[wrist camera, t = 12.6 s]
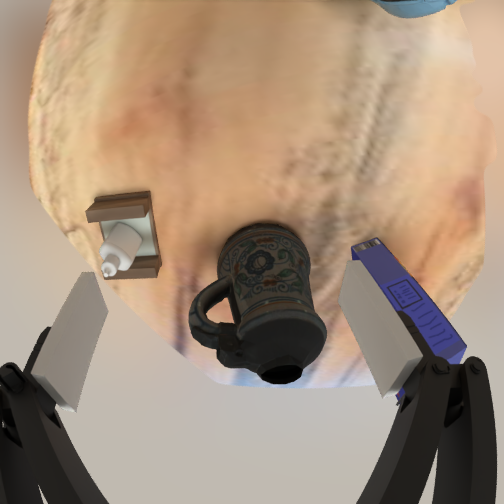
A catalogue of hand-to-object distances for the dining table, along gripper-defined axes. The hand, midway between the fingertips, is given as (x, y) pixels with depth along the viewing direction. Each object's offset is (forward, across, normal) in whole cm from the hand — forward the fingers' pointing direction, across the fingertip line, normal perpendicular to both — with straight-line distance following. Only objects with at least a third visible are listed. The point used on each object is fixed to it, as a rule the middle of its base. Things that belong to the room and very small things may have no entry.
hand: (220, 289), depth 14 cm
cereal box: (+32, +31, -27) cm, 52 cm away
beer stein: (+32, +6, -20) cm, 38 cm away
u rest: (+32, -17, -12) cm, 38 cm away
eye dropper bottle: (+31, -16, -12) cm, 37 cm away
